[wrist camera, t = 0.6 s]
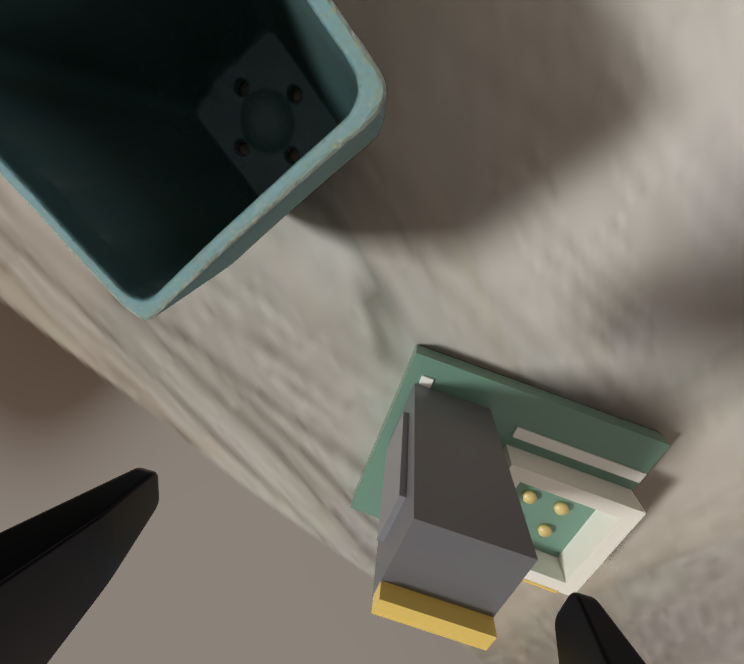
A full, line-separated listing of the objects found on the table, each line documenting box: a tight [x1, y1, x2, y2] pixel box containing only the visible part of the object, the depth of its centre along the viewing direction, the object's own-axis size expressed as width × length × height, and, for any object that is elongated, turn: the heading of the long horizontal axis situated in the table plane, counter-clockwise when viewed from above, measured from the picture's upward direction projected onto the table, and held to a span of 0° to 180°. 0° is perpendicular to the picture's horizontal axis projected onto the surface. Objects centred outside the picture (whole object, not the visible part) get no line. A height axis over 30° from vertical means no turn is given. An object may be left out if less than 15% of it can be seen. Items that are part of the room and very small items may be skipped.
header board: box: [351, 345, 671, 595], centre depth 20 cm, size 13×11×2 cm
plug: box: [372, 383, 538, 650], centre depth 16 cm, size 4×4×9 cm
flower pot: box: [0, 0, 387, 320], centre depth 12 cm, size 9×9×9 cm
